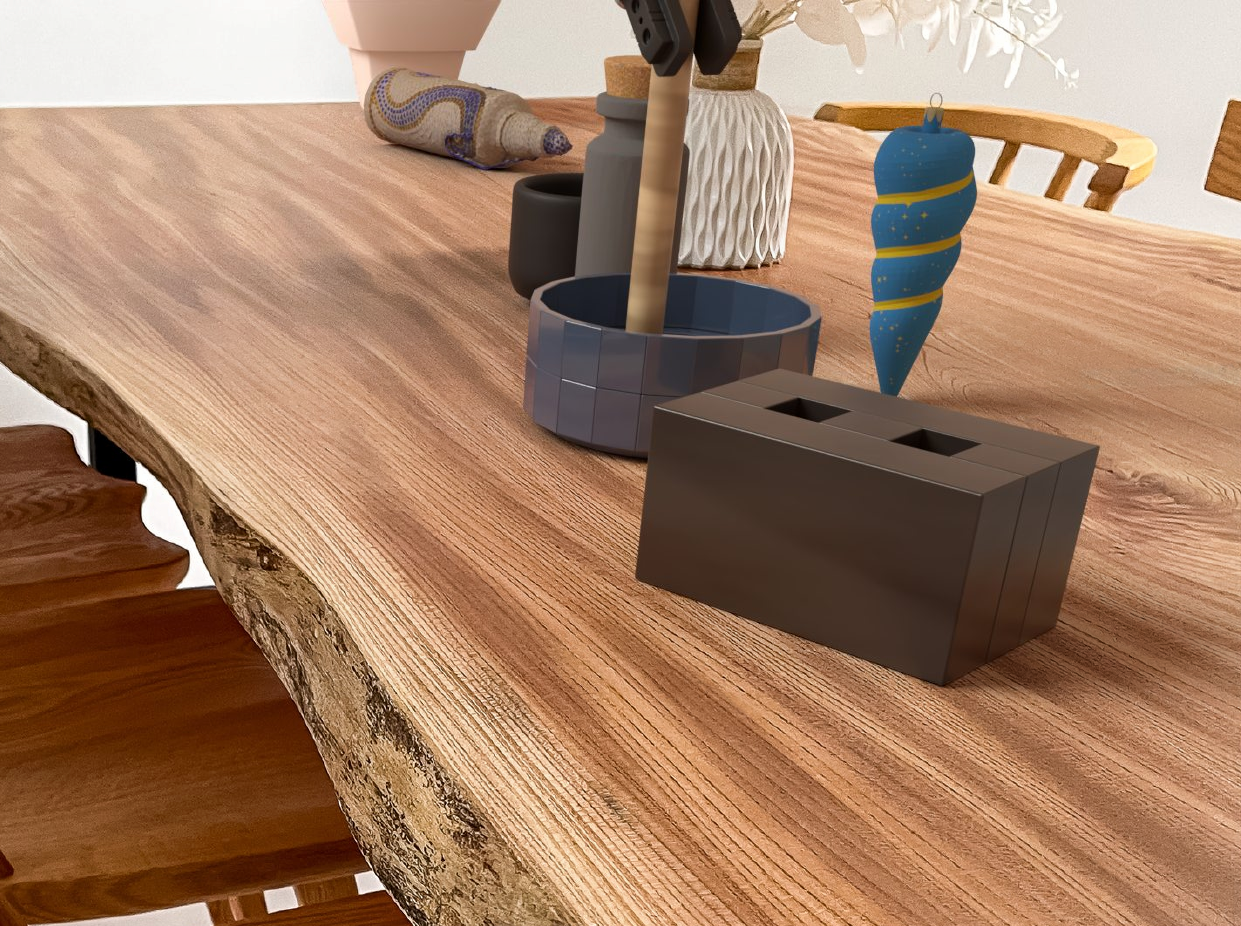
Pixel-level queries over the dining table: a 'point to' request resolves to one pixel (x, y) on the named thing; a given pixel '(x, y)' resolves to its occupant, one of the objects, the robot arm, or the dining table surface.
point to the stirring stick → (659, 191)
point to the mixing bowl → (653, 351)
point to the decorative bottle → (458, 120)
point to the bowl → (408, 34)
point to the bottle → (619, 173)
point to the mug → (544, 230)
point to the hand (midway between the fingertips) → (699, 62)
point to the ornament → (916, 236)
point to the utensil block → (863, 519)
